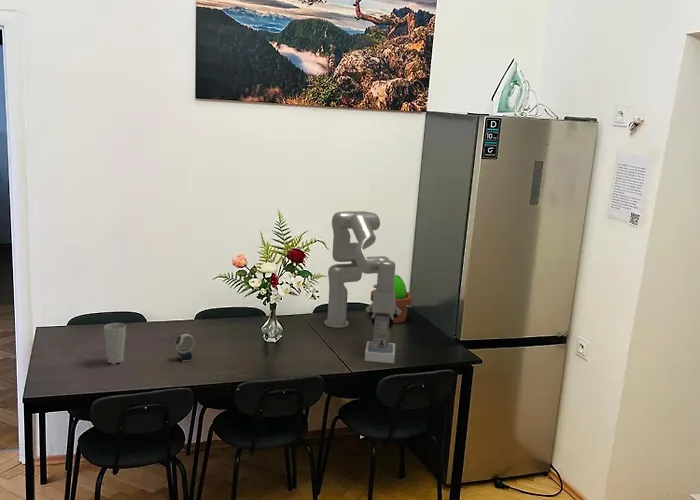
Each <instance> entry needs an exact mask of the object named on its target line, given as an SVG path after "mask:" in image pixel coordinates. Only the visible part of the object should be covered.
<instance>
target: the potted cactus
mask: <svg viewBox="0 0 700 500" xmlns="http://www.w3.org/2000/svg"><path fill="white" fill-rule="evenodd" d="M375 290H376V288H374V289H373V290H371V291H370V301H371V302H372V303H373V296H374V292H375ZM393 291H394V292H395V298H396V301H395V305H396V306H397V307H398V308H399V309H400V310H401V313H400V314H399V315H398V316H397V317H396V318H395V319H394V320H393V324H401V323H403V322H405V321H406V320H407V319H406V318H407V310H408V306H410V305H411V304H412V302H413V295H412V293H410V292H409V291H407V287H406V284H405V281H404V279H403V278H402V277H401V276H400V275H398V274H395V278H394V290H393ZM396 313H397V311H396V310H395V313H394V314H396ZM394 314H393V315H394Z"/></svg>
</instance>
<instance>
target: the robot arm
mask: <svg viewBox="0 0 700 500" xmlns="http://www.w3.org/2000/svg"><path fill="white" fill-rule="evenodd" d="M331 226H332V231H333V238H332V239H333V241H332V252H331V253H332V259H333V261H334V262H337V263H336V264H333V265H331V266H330V267H329V268H328V270H327V277H328V307H327V319H325V320H324V321H323V322H324V325H325V326H327V327H330V328H335V329H342V328H347V327H348V326H349V325H350V324H349V323H350V322H349V321H348V320H347V310H348V308H347V306H348V294H349V292H348V288H347V287H346V286H345V283H355V282H356V283H357V282H359V281H360V280H361V279H362V275H363V274H366V275H370V274H377V277H376V284H373V285H372V286H373V289H374V290H375V289H376V290H375V292H374V296H373V302H372V303H371V304H370V305H367V306H366V307H365V311H366V312H367V313H368V315H369V316H370V317H371V325H372V327H373V328H374V319H375V313H378V314H389V315H390V316H391V318H390V329H392V327H394V323H393V320H394V319H395V318H396V317H397V316H398V315H399V314H400V313H401V310H400V309H399V308H398V307H397V306H396V305H395V301H396V298H395V292H394V291H393V290H394V278H395V275H396V262H395V261H394V260H390V258H389V257H387V256H384V255H383V256H382V255H381V256H366V254H365V252H364V250H365V249H367V248H370V247H371V246H372V245H373V244H375V242H376V239H377V237H376V235H375V232H374V231H377V230H378V229H379V228H380V226H381V220H380V217H379V216H378V214H376V213H375V212H370V211H365V210H364V211H361V210H360V211H359V210H358V211H357V210H356V211H355V210H353V211H351V210H350V211H349V210H347V211H338V212H336V213H334V214H333V216H332V219H331ZM349 229H350V230H352V231H353V234H354V236H355V238H356V241H357V242H351V238H352V237H351V232H350V231H349ZM345 262H346V263H345ZM347 262H348V263H347ZM349 262H350V263H349ZM395 310H396V311H397V313H396V314H394V313H395ZM393 314H394V315H393Z"/></svg>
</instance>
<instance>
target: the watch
mask: <svg viewBox="0 0 700 500" xmlns="http://www.w3.org/2000/svg"><path fill="white" fill-rule="evenodd" d="M186 337H188V338H191V339H192V340H191V342H190V344H189V346H188V348H187V349H183V350H179V348H180V347H181V346H182V344H183V343H184V341H185V340H184V339H185V338H186ZM195 343H196V342H195V338H194V337H193V336H192V335H191V334H188V333H183V334H179V335H178V336H177V337H176V339H175V341H174V347H175V349H176V351H177V358H178V357H179V358H180V359H181V361H183V360H190V359H193V354H192V352H191V351H192V350H193V348H194V347H195ZM179 358H178V359H179ZM181 361H180V362H181Z"/></svg>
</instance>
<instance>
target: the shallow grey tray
mask: <svg viewBox="0 0 700 500" xmlns="http://www.w3.org/2000/svg"><path fill="white" fill-rule="evenodd" d="M395 357H396V343H391V342H389V344H388V347H387V349H386V350H381V349H373V341H372V340H371V341H368V340H367V341H366V346H365V352H364V361H365V362H372V363H373V362H375V363H385V364H395Z"/></svg>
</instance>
